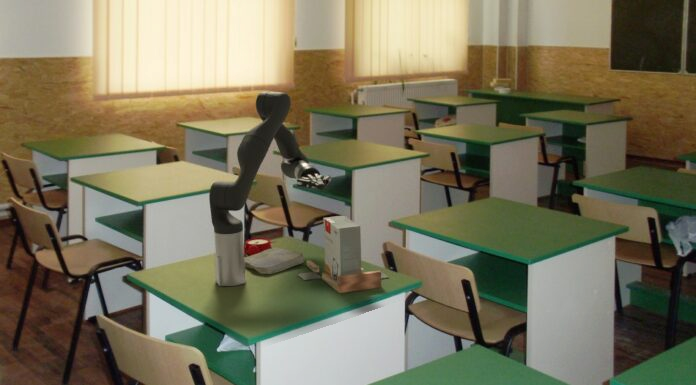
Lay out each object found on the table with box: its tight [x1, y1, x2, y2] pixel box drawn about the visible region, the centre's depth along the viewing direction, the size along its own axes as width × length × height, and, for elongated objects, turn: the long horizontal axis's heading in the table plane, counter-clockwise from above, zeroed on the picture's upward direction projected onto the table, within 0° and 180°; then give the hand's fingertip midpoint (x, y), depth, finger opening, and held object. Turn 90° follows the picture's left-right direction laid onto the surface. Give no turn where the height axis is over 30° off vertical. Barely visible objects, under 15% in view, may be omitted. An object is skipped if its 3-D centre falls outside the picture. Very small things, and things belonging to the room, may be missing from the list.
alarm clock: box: [244, 237, 277, 256], centre depth 303 cm, size 10×6×15 cm
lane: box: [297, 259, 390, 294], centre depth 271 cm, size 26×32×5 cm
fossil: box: [244, 247, 305, 275], centre depth 287 cm, size 20×5×17 cm
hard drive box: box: [322, 215, 362, 282], centre depth 264 cm, size 16×8×20 cm, turn 20°
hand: (321, 187), depth 280 cm, fingers closed
